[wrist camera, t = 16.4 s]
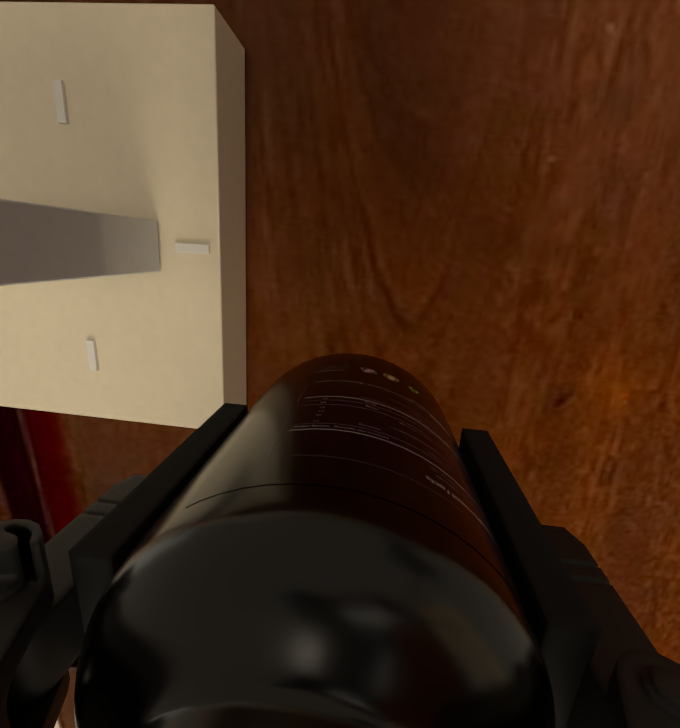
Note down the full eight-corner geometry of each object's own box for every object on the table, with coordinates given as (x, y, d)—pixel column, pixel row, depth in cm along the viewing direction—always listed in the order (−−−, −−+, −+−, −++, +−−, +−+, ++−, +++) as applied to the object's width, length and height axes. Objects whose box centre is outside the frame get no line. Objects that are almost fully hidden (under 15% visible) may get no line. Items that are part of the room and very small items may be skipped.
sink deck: (-20, 42, 17) (-108, -4, 14) (245, 48, 16) (212, 0, 13) (39, 384, 21) (-18, 405, 18) (246, 406, 20) (223, 433, 17)
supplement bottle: (401, 549, 14) (465, 1666, 3) (234, 481, 14) (-335, 1350, 3) (487, 393, 12) (1693, 2041, 1) (293, 314, 12) (-795, 1048, 1)
